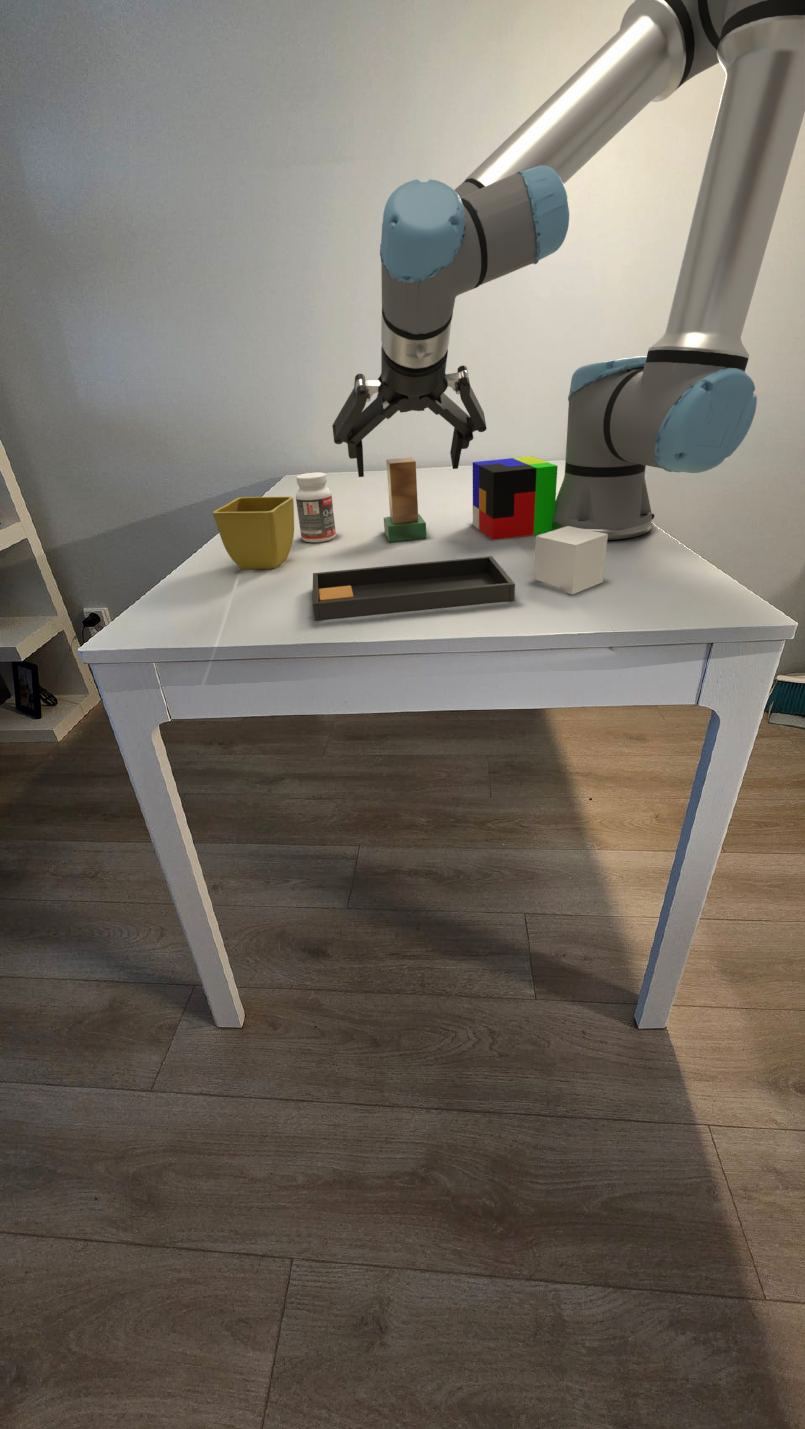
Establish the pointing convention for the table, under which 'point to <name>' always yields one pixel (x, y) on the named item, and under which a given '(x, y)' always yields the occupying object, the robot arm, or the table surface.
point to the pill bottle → (315, 508)
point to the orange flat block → (335, 593)
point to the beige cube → (570, 558)
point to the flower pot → (257, 530)
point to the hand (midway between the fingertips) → (407, 465)
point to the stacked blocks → (403, 502)
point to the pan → (413, 587)
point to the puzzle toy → (514, 496)
